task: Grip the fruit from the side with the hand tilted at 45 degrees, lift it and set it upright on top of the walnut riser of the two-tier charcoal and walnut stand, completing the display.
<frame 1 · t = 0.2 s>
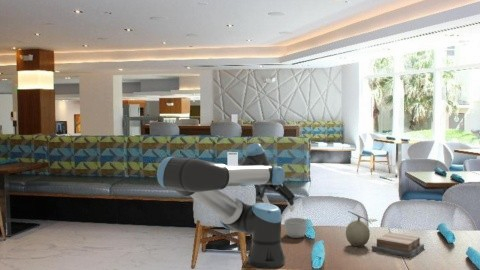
hand: (280, 208, 231), 16 cm above the table, tool tilted 35°, fingers open, 13 cm apart
fruit: (358, 246, 225), on the table
stand: (398, 249, 219), on the table
teacup: (294, 235, 242), on the table
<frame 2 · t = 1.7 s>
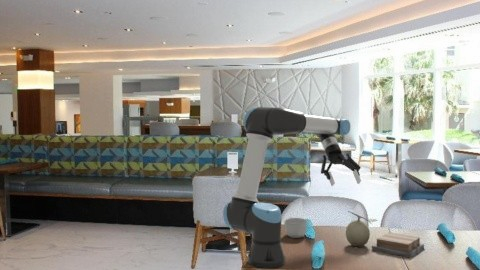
hand: (346, 183, 233), 27 cm above the table, tool tilted 45°, fingers open, 13 cm apart
nothing on the table moved.
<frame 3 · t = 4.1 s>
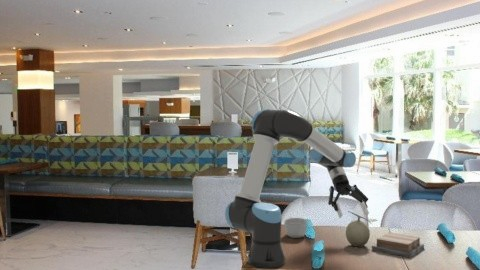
hand: (354, 215, 230), 12 cm above the table, tool tilted 45°, fingers open, 13 cm apart
nothing on the table moved.
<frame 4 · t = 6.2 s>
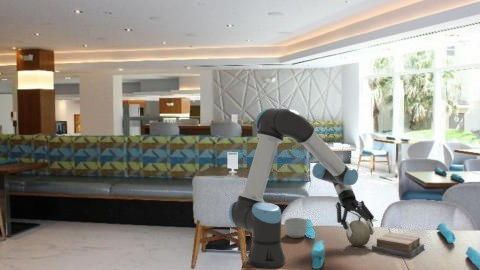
hand: (361, 234, 222), 6 cm above the table, tool tilted 45°, fingers closed on fruit, 10 cm apart
fruit: (359, 246, 225), on the table, touching gripper
everything else where it was.
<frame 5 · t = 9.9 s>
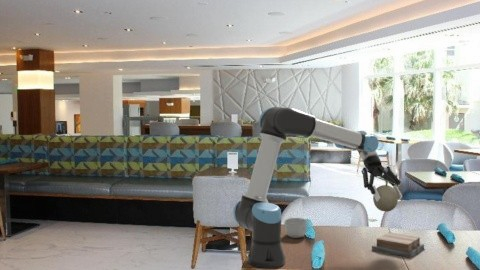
hand: (389, 198, 218), 23 cm above the table, tool tilted 45°, fingers closed on fruit, 10 cm apart
fruit: (386, 211, 221), point 16 cm above the table, touching gripper
everything else where it was.
when the fingers open (12 cm above the table, at t = 13.2 s): fruit drops 1 cm, resting on stand.
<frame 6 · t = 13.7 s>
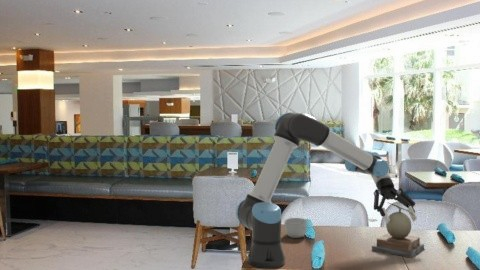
hand: (401, 221, 216), 13 cm above the table, tool tilted 45°, fingers open, 13 cm apart
fruit: (399, 238, 219), point 5 cm above the table, touching stand
everything else where it was.
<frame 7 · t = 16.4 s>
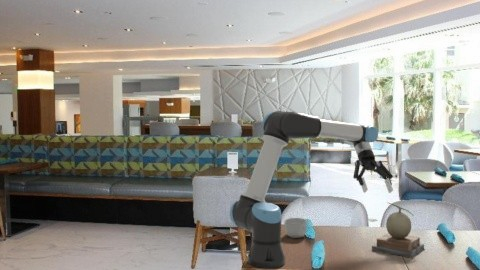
hand: (378, 191, 228), 24 cm above the table, tool tilted 40°, fingers open, 13 cm apart
nothing on the table moved.
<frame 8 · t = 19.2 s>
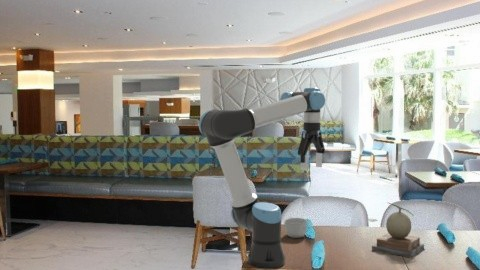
hand: (311, 168, 227), 35 cm above the table, tool pointing down, fingers open, 13 cm apart
nothing on the table moved.
at the end: fruit inside the target area on the stand (0.6 cm from its centre), point 4.8 cm above the stand's base; fruit tilted 0°; the gripper is holding nothing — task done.
